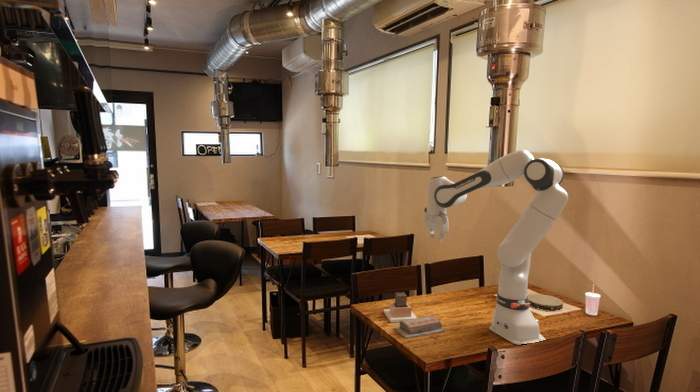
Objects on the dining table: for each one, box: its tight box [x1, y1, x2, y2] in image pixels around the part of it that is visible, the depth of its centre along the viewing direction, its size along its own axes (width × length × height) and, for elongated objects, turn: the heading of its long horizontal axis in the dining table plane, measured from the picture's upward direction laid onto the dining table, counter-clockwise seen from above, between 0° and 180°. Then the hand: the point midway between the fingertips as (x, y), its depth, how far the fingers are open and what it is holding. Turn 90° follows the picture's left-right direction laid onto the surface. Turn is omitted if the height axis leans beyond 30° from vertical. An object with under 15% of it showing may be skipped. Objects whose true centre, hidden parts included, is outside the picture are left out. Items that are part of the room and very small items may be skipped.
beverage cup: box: [584, 283, 602, 316], centre depth 188 cm, size 6×6×14 cm
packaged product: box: [394, 315, 445, 339], centre depth 168 cm, size 18×5×10 cm
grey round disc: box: [527, 293, 564, 312], centre depth 199 cm, size 16×16×3 cm
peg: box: [394, 291, 408, 308], centre depth 181 cm, size 4×4×9 cm
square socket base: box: [383, 301, 418, 323], centre depth 182 cm, size 12×12×5 cm
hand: (436, 239), depth 194 cm, fingers open, 8 cm apart
